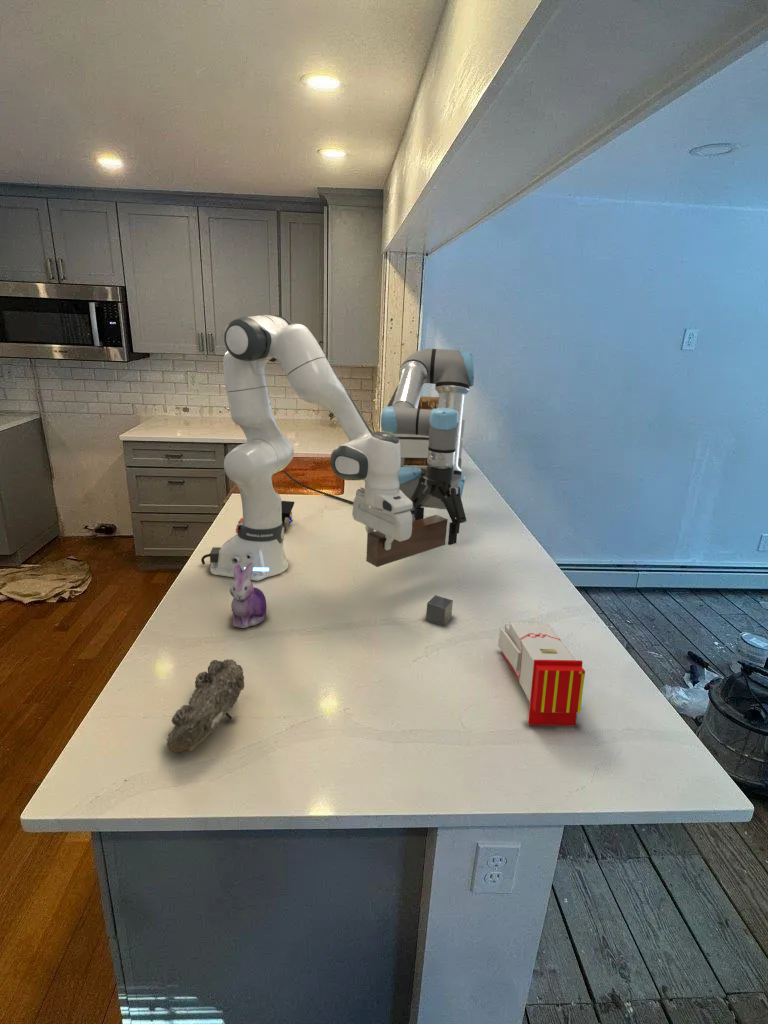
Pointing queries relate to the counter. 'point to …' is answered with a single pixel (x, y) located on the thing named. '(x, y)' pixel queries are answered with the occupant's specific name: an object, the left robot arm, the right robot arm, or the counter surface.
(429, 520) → the walnut plank
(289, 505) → the figurine character
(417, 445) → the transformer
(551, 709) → the toy
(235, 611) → the figurine
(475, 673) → the counter surface
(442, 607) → the slate block
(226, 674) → the fossil
